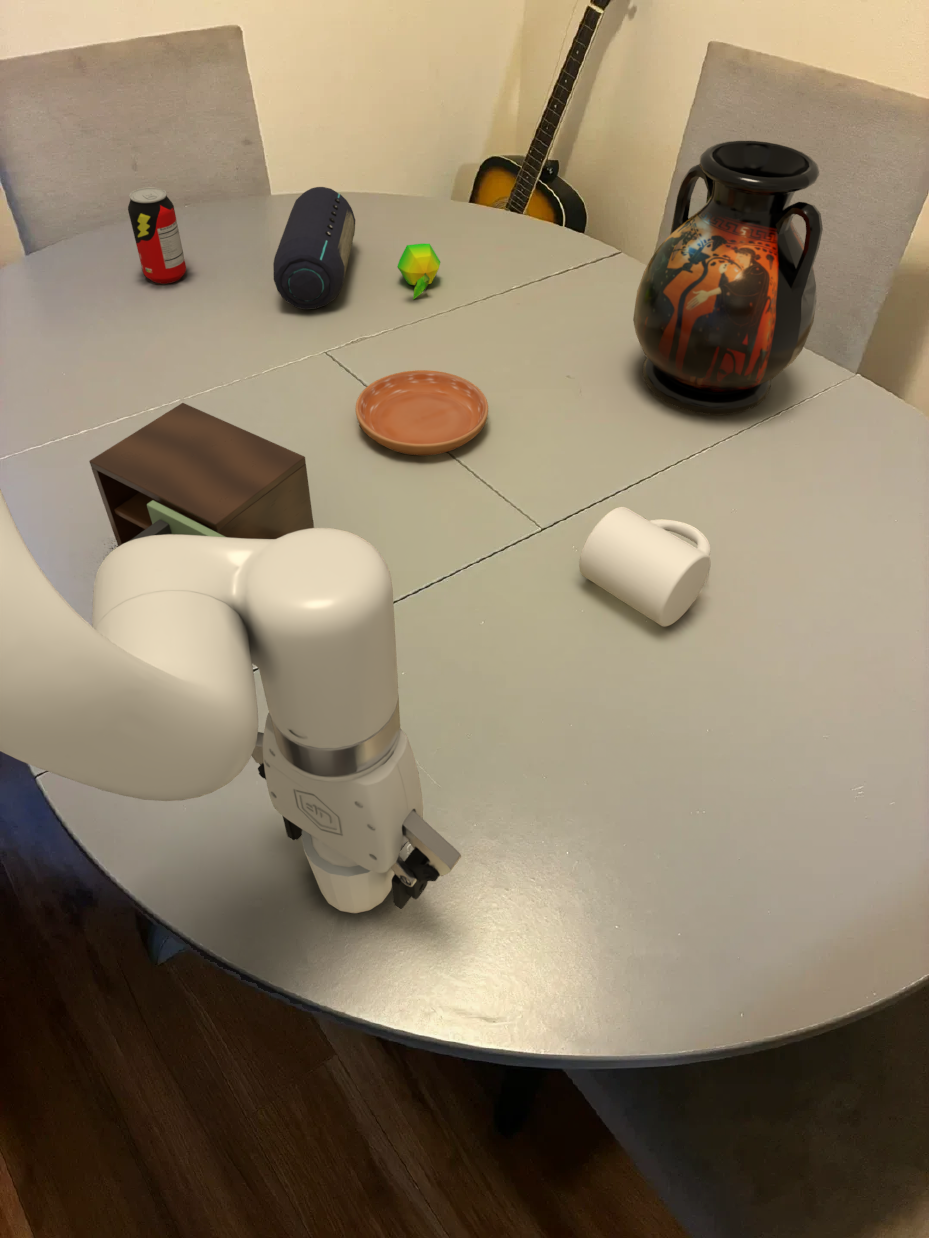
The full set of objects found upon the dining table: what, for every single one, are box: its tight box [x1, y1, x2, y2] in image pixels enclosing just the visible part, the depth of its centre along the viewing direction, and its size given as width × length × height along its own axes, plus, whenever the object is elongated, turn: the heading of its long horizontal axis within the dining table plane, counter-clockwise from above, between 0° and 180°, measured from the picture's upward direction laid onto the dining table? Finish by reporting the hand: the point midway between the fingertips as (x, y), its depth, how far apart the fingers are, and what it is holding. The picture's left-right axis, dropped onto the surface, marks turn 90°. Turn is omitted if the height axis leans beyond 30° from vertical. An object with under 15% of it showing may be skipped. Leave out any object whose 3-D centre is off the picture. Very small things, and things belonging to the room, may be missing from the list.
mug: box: [578, 506, 712, 627], centre depth 87 cm, size 12×10×8 cm
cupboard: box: [89, 402, 315, 547], centre depth 87 cm, size 12×16×12 cm
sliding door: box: [128, 500, 225, 542], centre depth 80 cm, size 7×10×11 cm
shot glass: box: [301, 829, 395, 914], centre depth 65 cm, size 7×7×7 cm
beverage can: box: [127, 186, 187, 285], centre depth 129 cm, size 6×6×12 cm
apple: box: [396, 243, 441, 301], centre depth 132 cm, size 7×6×9 cm
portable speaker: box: [272, 186, 356, 310], centre depth 131 cm, size 25×10×10 cm, turn 179°
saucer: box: [354, 369, 489, 457], centre depth 108 cm, size 16×16×3 cm
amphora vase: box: [632, 140, 824, 416], centre depth 107 cm, size 22×22×28 cm
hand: (356, 857), depth 65 cm, fingers open, 9 cm apart
